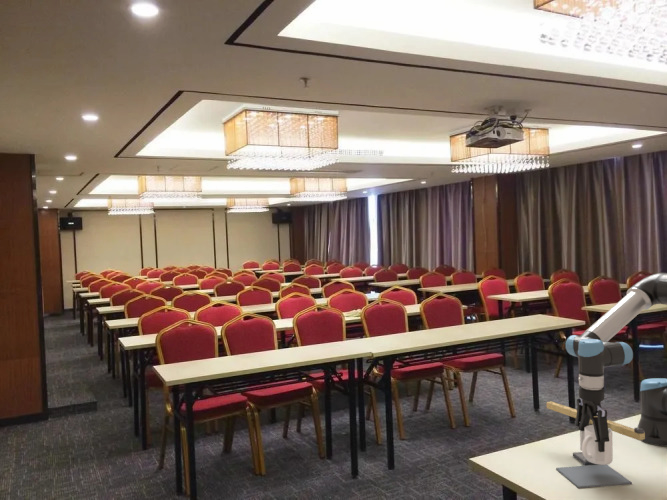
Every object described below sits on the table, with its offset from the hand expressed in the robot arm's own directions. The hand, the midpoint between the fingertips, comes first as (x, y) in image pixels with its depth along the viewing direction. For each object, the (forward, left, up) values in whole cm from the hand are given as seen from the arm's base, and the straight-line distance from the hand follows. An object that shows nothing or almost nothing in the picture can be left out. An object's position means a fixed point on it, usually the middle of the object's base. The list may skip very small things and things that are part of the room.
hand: (592, 455), depth 182 cm
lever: (-7, -11, +7) cm, 14 cm away
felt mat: (0, 0, -7) cm, 7 cm away
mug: (-1, +1, -2) cm, 2 cm away
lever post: (-6, -12, -7) cm, 15 cm away
